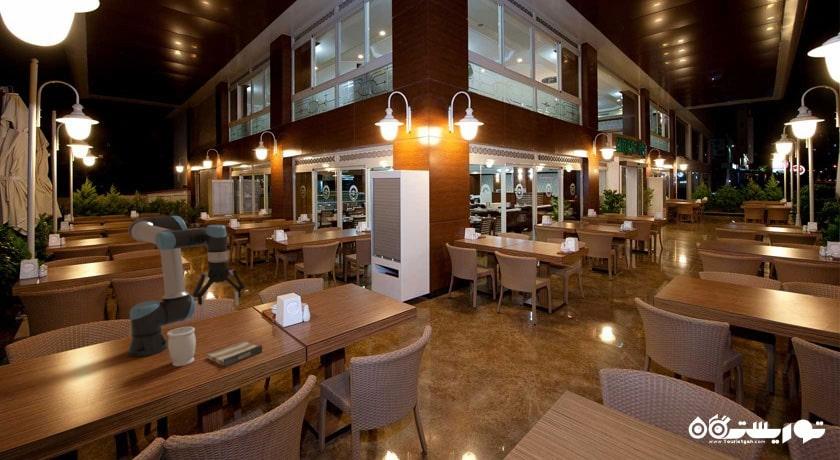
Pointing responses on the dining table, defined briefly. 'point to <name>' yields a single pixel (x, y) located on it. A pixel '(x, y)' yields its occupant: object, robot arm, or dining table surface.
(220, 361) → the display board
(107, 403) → the dining table surface
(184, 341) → the jar
